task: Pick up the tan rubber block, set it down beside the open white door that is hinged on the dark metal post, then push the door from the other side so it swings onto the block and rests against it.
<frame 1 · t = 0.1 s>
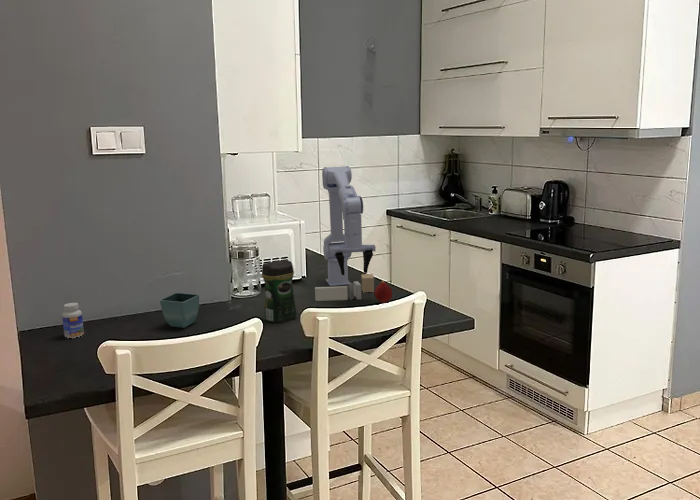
hand: (354, 273, 219), 10 cm above the breakfast bar, tool pointing down, fingers open, 7 cm apart
door: (331, 293, 225), point 2 cm above the breakfast bar, hinge at 80.0°
pill bottle: (74, 336, 195), on the breakfast bar
flower pot: (182, 325, 202), on the breakfast bar
wall frame: (351, 299, 225), on the breakfast bar
coffee jar: (280, 319, 205), on the breakfast bar
onion: (383, 304, 218), on the breakfast bar
rubber block: (367, 290, 235), on the breakfast bar
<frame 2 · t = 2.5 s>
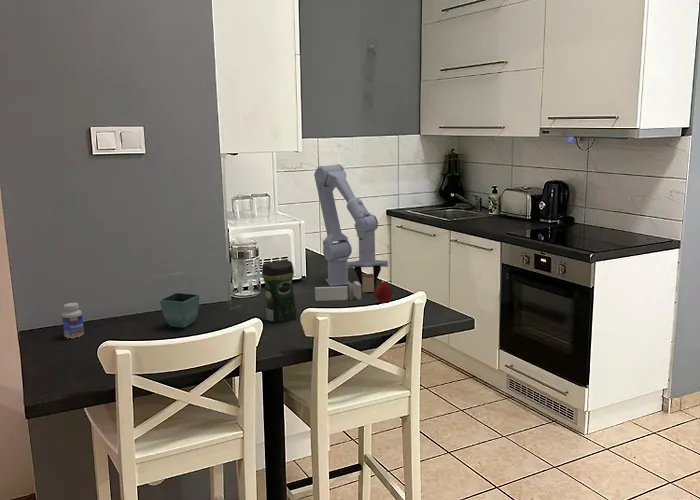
hand: (367, 286, 235), 1 cm above the breakfast bar, tool pointing down, fingers closed on rubber block, 4 cm apart
rubber block: (368, 290, 235), on the breakfast bar, touching gripper
everything else where it was.
when the fingers open (2 cm above the breakfast bar, at t = 6.6 s): rubber block drops 1 cm, on the breakfast bar.
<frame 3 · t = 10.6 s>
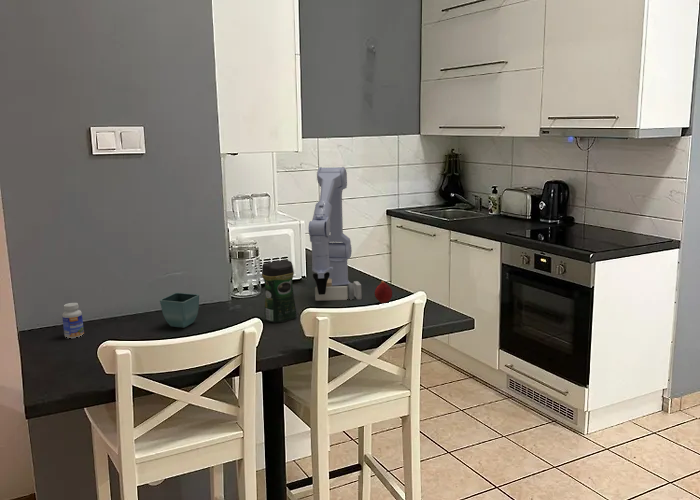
hand: (321, 294, 223), 2 cm above the breakfast bar, tool pointing down, fingers closed
door: (331, 293, 225), point 2 cm above the breakfast bar, hinge at 77.2°, touching gripper
rubber block: (326, 296, 230), on the breakfast bar
everything else where it was.
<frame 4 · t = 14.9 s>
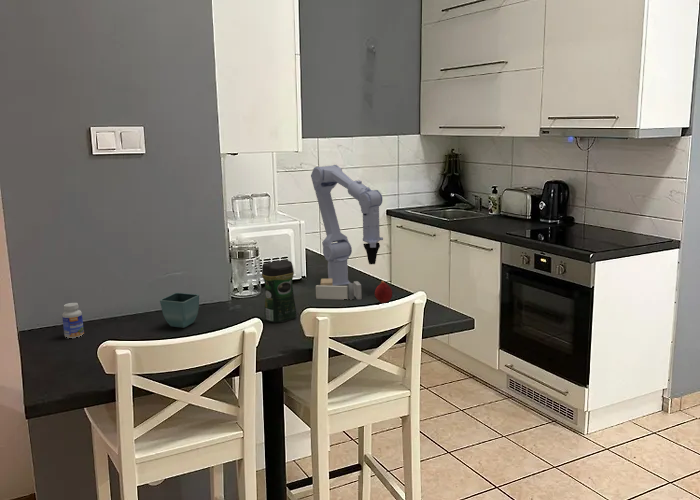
hand: (372, 263, 230), 10 cm above the breakfast bar, tool pointing down, fingers closed
door: (332, 292, 226), point 2 cm above the breakfast bar, hinge at 66.9°
everything else where it was.
at the end: rubber block inside the target area (0.6 cm from its centre), on the breakfast bar; door at +67° (first picture: +80°); rubber block tilted 0° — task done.
